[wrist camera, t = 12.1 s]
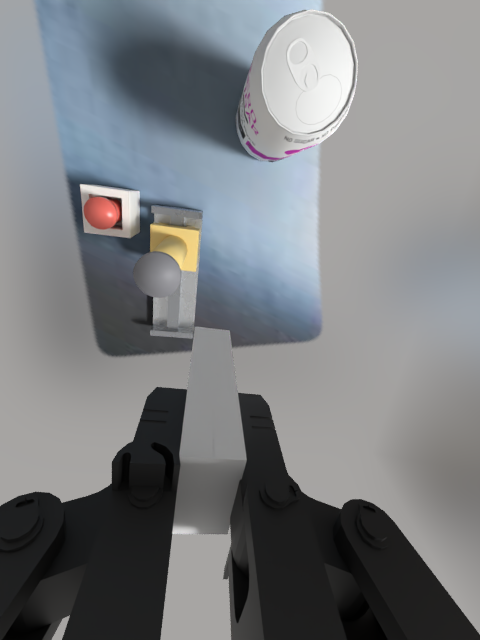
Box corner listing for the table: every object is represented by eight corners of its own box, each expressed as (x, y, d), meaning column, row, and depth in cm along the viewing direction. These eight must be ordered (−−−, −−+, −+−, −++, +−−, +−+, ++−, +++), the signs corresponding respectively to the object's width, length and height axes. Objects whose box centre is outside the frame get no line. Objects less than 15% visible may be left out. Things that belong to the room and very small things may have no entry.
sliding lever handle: (155, 221, 35) (120, 241, 22) (199, 227, 36) (193, 250, 23) (154, 260, 37) (122, 301, 24) (197, 265, 38) (189, 307, 25)
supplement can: (315, 133, 34) (383, 97, 21) (259, 176, 36) (288, 168, 22) (281, 61, 31) (336, -38, 17) (221, 111, 32) (229, 55, 19)
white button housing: (95, 184, 34) (78, 183, 30) (139, 191, 35) (128, 191, 30) (98, 227, 36) (82, 232, 32) (139, 232, 37) (130, 238, 33)
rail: (155, 204, 36) (151, 205, 33) (203, 211, 37) (202, 212, 34) (154, 326, 43) (150, 335, 40) (193, 329, 44) (192, 338, 41)
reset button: (99, 194, 33) (82, 194, 28) (127, 198, 33) (115, 199, 29) (100, 222, 34) (84, 227, 30) (128, 226, 35) (116, 231, 30)
